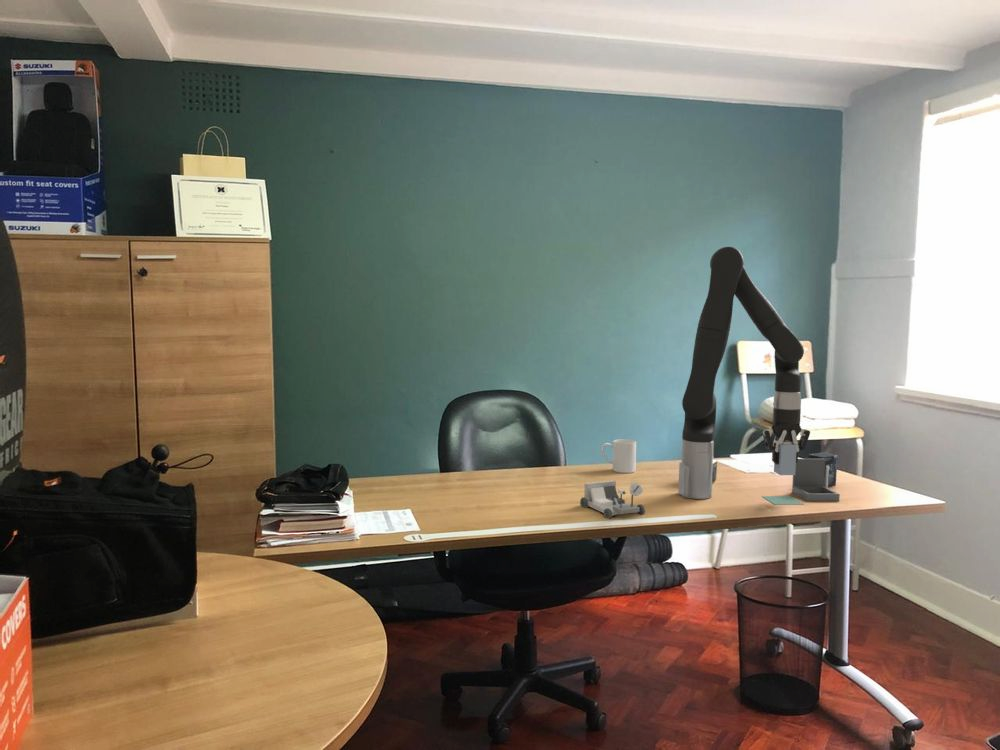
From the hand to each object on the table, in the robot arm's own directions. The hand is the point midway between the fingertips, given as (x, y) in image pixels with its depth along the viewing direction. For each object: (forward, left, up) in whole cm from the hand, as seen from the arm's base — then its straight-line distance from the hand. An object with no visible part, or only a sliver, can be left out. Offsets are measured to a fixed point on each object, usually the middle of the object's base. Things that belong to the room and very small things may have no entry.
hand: (784, 463), depth 219 cm
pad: (0, 0, -12) cm, 12 cm away
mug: (-41, +41, -12) cm, 59 cm away
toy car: (-53, -10, -12) cm, 55 cm away
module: (0, 0, -3) cm, 3 cm away
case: (+12, +4, -12) cm, 17 cm away
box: (+21, +19, -12) cm, 31 cm away
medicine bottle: (-16, +25, -12) cm, 32 cm away
